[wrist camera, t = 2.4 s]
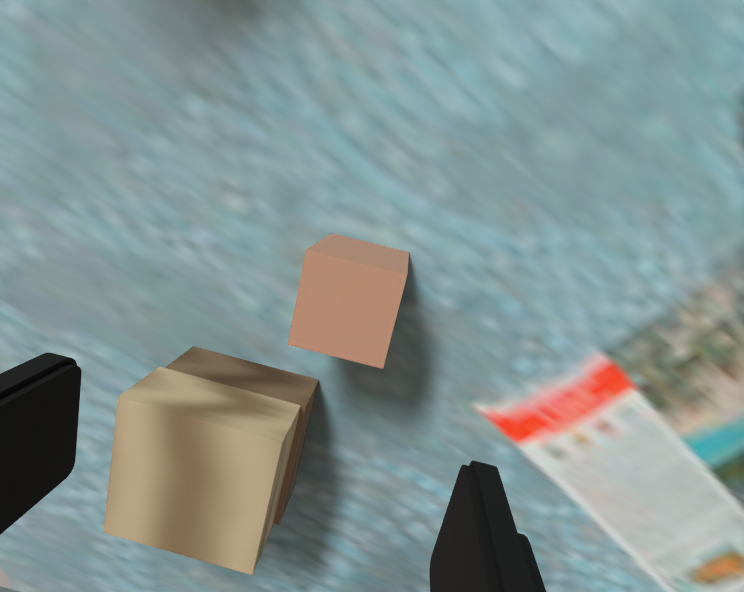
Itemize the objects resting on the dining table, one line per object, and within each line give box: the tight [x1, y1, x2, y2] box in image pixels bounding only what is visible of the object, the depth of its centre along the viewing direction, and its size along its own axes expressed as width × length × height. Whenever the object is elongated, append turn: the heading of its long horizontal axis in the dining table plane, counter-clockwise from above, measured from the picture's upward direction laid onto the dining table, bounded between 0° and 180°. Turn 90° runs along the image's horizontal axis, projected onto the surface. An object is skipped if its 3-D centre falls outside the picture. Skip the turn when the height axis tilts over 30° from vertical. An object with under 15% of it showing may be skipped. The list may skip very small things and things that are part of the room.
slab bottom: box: [165, 346, 319, 525], centre depth 31 cm, size 9×9×4 cm
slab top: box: [103, 366, 301, 575], centre depth 27 cm, size 9×9×4 cm
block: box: [288, 233, 409, 369], centre depth 26 cm, size 5×5×7 cm
